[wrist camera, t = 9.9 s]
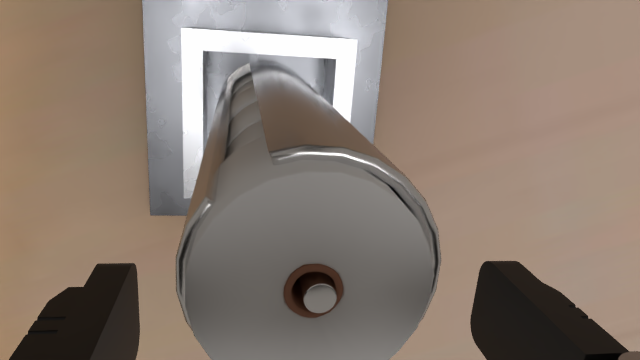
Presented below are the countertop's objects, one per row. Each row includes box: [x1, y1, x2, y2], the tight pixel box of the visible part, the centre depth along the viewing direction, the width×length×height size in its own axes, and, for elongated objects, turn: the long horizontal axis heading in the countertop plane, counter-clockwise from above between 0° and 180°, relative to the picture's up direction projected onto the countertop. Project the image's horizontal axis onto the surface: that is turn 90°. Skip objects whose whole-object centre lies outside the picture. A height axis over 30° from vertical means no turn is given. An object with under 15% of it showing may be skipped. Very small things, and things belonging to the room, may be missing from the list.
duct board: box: [142, 0, 388, 216], centre depth 33 cm, size 16×16×5 cm
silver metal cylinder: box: [176, 60, 441, 360], centre depth 23 cm, size 6×6×25 cm
